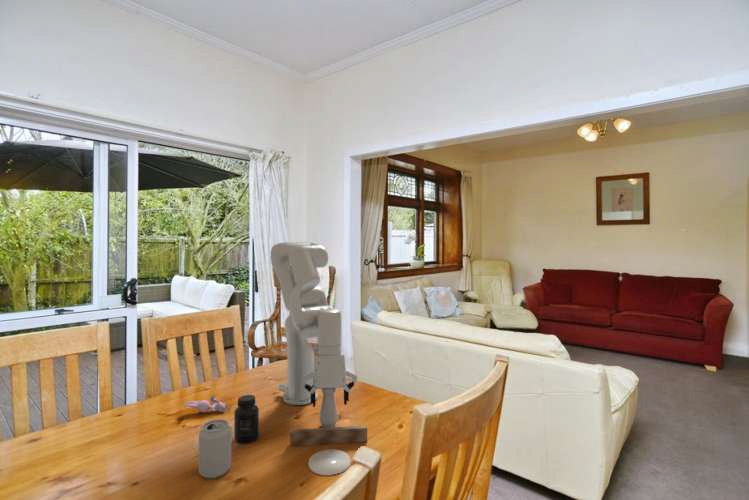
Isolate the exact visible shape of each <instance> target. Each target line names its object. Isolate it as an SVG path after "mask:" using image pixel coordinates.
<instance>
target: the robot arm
mask: <svg viewBox="0 0 749 500" xmlns="http://www.w3.org/2000/svg"><path fill="white" fill-rule="evenodd" d="M328 261H329V253H328V252H327V249H326V248H325V246H323V245H320V244H317V243H315V242H311V241H310V242H307V241H306V242H305V241H303V242H297V241H296V242H295V241H287V242H286V241H285V242H278V243H275V244H274V245H273V246H272V247H271V250H270V263H271V267H272V269H273V271H274V273H275V275H276V277H277V279H278V281H279V285H280V291H281V295H282V299H283V305H284V307H285V309H286V310H287V311H288V312H289V314H290V315H288V316H287V317H286V319H285V321H284V328H285V329H284V330H285V336H286V343H287V344H286V345H287V346H286V347H287V348H286V349H287V357H286V358H287V367H286V368H287V376H286V377H287V380H286V381H287V382H286V383H287V384H285V383H279V384H278V392H283V393H284V394H283V395H282V401H283V402H284V403H285V404H288V405H291V406H292V405H293V406H305V405H309V404H312V407H313V408H315V407H316V401H317V399H318V398H319V397H318V395H319V394H318V391H317V389H318V390H319V389H320V390H322V389H323V388H336V389H338V388H340V389H341V388H343V404H344V406H347V405H348V404H347V403H348V402H349V401H350V400H349V399H350V396H349V392H350V390H351V389H352V388H353V387H354V386H355V384H356V382H357V380H358V376H357V375H356V374H354V373H352V372H350V371H348V370H347V367H346V357H345V353H344V352H342V351H343V350H342V348H343V347H342V313H341V311H340V310H339V309H336V308H333V307H332V306H331V305H329V304H328V299H327V295H326V293H325V291H324V289H323V288H322V287H321V286H318V285H320V283H321V277H320V274H319V271H318V269H319V268H325V267H326V266H327V265H328V263H329V262H328ZM312 338H317V339H316V343H317V344H316V345H313V346H312V344H311V343H310V342H309V341H308V339H312ZM315 352H316V353H315ZM347 378H350V379H351V380H350V381H349V383H347Z"/></svg>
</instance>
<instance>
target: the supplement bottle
mask: <svg viewBox="0 0 749 500" xmlns="http://www.w3.org/2000/svg"><path fill="white" fill-rule="evenodd" d="M259 412H260V410H259V407H258V405H257V404H256V396H255V395H253V394H245V395H241V396H239V397H238V399H237V407H236V408H235V410H234V412H233V413H234V416H233V418H234V419H233V422H234V426H233V427H234V431H233V432H234V441H235V442H236V443H238V444H243V445H244V444H250V443H253V442H255V441H257V439H258V438H259V435H260V427H259V426H260V423H259V422H260V420H259V419H260V416H259V415H260V413H259Z"/></svg>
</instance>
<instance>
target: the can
mask: <svg viewBox="0 0 749 500" xmlns="http://www.w3.org/2000/svg"><path fill="white" fill-rule="evenodd" d="M231 466H232V428H231V425H229V421H228V420H226V419H223V418H222V419H221V418H220V419H219V418H218V419H212V420H209V421H206V422H205V423H204V424H202V426H201V430H200V431H199V432H198V473H199V475H200V476H202V477H204V478H205V479H217V478H220V477H222V476H223V475H225V474H226V473H227V472H228V471H229V470H230V469H231Z"/></svg>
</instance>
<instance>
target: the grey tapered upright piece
mask: <svg viewBox="0 0 749 500" xmlns="http://www.w3.org/2000/svg"><path fill="white" fill-rule="evenodd" d="M336 389H337V388H323V389H321V393H322V394H323V396H322V401H321V407H320V413H319V419H318V420H319V423H320V425H321V428H331V427H336V424H337V422H338V418H339V417H338V410H337V405H336V398H335V393H336V391H337V390H336Z"/></svg>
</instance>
